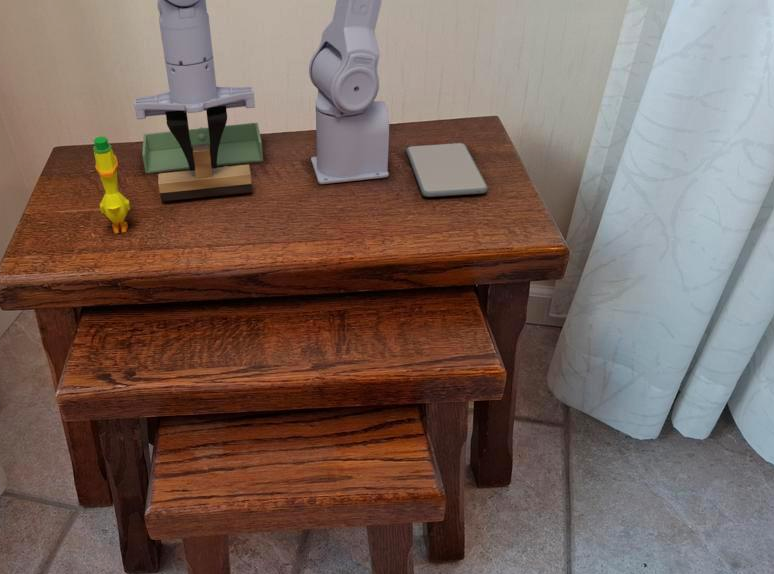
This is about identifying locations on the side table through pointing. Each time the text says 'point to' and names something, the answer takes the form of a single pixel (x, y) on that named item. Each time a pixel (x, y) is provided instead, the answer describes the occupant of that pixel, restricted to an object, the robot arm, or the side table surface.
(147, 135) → the dustpan
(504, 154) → the side table surface
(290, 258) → the side table surface
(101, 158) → the toy figure
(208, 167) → the brush
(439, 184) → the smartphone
